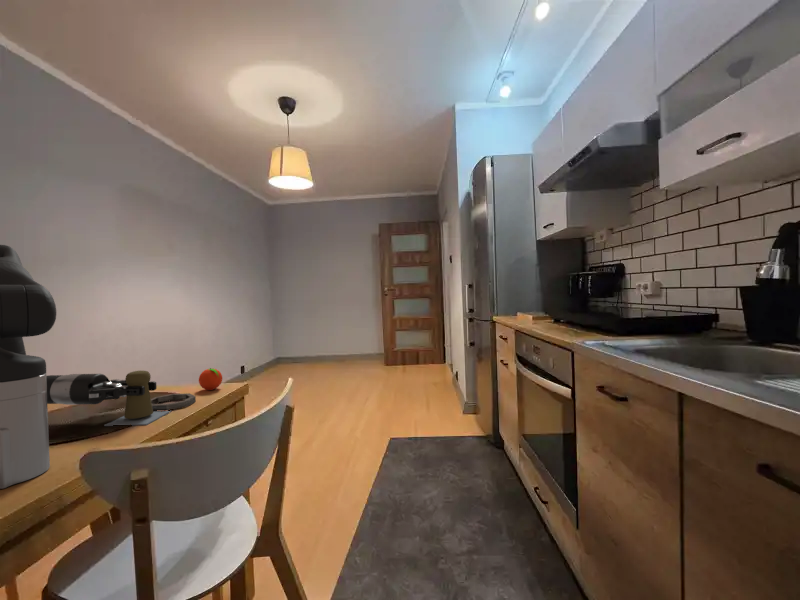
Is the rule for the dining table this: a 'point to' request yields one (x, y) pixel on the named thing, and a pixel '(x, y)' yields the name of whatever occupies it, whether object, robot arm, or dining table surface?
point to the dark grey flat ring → (187, 401)
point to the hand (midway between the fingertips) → (149, 388)
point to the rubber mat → (138, 419)
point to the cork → (138, 404)
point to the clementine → (210, 379)
